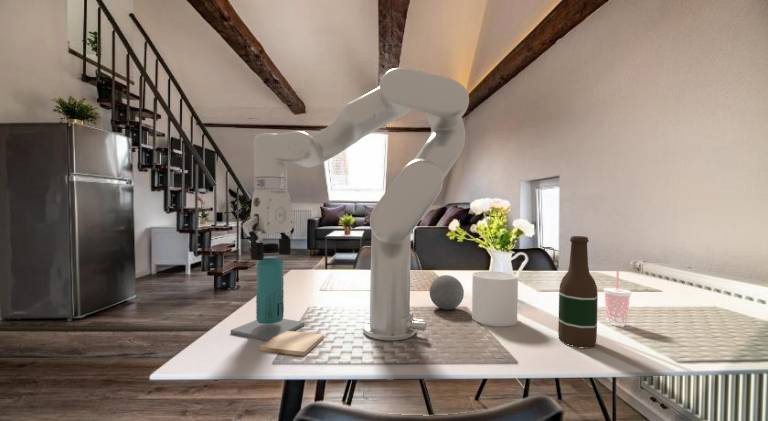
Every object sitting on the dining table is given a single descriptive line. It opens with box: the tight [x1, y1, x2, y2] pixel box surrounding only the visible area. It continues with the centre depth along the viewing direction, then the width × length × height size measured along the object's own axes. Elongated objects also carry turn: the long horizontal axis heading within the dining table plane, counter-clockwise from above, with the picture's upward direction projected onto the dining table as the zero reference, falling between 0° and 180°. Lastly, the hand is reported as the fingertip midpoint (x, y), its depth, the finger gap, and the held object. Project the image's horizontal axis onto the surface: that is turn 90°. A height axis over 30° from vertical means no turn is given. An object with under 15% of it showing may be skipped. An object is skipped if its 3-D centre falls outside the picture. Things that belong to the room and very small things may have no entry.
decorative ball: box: [429, 274, 465, 311], centre depth 105 cm, size 10×10×10 cm
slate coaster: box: [230, 318, 305, 342], centre depth 86 cm, size 12×12×1 cm
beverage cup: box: [603, 270, 632, 325], centre depth 94 cm, size 6×6×14 cm
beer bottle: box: [558, 235, 599, 348], centre depth 81 cm, size 8×8×24 cm
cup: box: [471, 271, 519, 328], centre depth 96 cm, size 12×12×12 cm
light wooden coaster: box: [259, 330, 325, 357], centre depth 77 cm, size 10×10×1 cm
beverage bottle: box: [255, 242, 285, 324], centre depth 86 cm, size 6×7×20 cm
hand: (271, 257), depth 86 cm, fingers open, 9 cm apart
